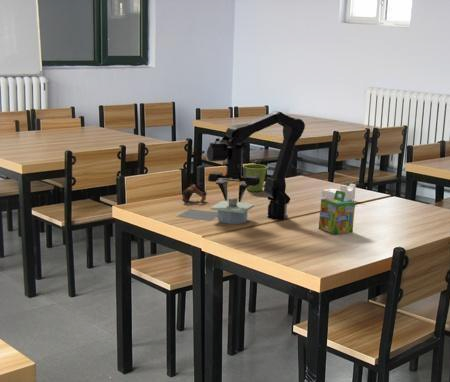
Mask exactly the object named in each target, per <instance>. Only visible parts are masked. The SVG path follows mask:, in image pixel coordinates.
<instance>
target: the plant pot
mask: <svg viewBox="0 0 450 382" xmlns="http://www.w3.org/2000/svg"><path fill="white" fill-rule="evenodd" d="M243 167H245V168H246V176H245V177H248V176H249V175H250V176H258V177H259V179H260V181H259V184H258V185H256V186H248V187H247V188H246V190H247V191H249V192H254V191H256V192H262V191H263V190H264V189H263V188H264V187H263V186H264V185H265V180H266V175H267V171H268V169H269V166H268V165H265V164H257V163H255V164H253V163H251V164H250V163H249V164H243ZM261 190H262V191H261Z"/></svg>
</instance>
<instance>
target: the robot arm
mask: <svg viewBox="0 0 450 382" xmlns="http://www.w3.org/2000/svg"><path fill="white" fill-rule="evenodd" d="M276 124H278V125H280V126H282V135H283V139H282V144H281V147H280V150H279V153H278V156H277V159H276V160H277V161H276V163H275V167H274V171H273V173H272V175H271V176H270V177H269V176H267V177H265V180H264V184H263V188H264V189H263V192H264V194H265V195H266V198H267V200H268V201H269V204H268V206H267V218H268V219H269V218H270V219H278V220H285V219H286V218H287V217H288V214H287V210H288V209H287V208H288V205H289V203H290V202H291V197H290V196H289V195H288V194H287V193H286V188H287V185H286V184H287V182H286V176H287V172H288V169H289V166H290V162H291V160H292V156H293V153H294V151H295V150H294V149H295V145H296V143H297V142H298V140H299V139H300V138H301V137H302V135H303V133H304V131H305V128H306V123H305V122H304V121H303V119H301V118H295V117H292V116H290V115H286V114H285V113H283V112H282V111H276V110H274V111H272V112H270V113H268V114H266V115H264V116H261V117H258V118H256V119H254V120H252V121H249V122H247V123H242V124H241V123H239V124H236V125H232V126H229V127H227V129H226V130H225V134H224V135H223V137H222V138H221V140H220V141H219V142H209V146H208V148H207V150H206V157H207V160H208V162H224V161H226V163H225V167H226V174H223V172H219V171H213V172H211V173H209V174H208V176H207V181H208V182H212V183H213V182H214V183H215V185H218V187H219V189H220V190H221V193H222V196H223V198H224V201H227V200H228V183H229V182H236V183H237V182H239V183H241V184H239V186H238V203H242V200H243V196H244V194H245V191H246V190H247V187H248V186H256V185H258V184H259V181H260V179H259V177H258V176H250V175H249V176H248V177H245V176H246V168H245V167H243V165H244V163H243V149H244V150H245V149H246V150H247V149H249V146H248V145H247V144H245V141H246V140H248V139H249V138H250V137H251V136H252V135H253V134H255V133H258V132H260V131H263V130H264V129H267V128H269V127H272V126H273V125H276Z"/></svg>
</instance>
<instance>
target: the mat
mask: <svg viewBox="0 0 450 382" xmlns="http://www.w3.org/2000/svg"><path fill="white" fill-rule="evenodd" d="M175 217H177V218H185V219H192V220H193V219H194V220H201V221H207V222H209V221H212V220H214V219H216V218H217V211H209V210H208V211H207V210H201V209H192V208H190V209H188V210H186V211H183V212H182V213H179V214H178V215H176V216H175Z"/></svg>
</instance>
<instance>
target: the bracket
mask: <svg viewBox="0 0 450 382" xmlns="http://www.w3.org/2000/svg"><path fill="white" fill-rule="evenodd" d="M339 187H340V189H336V188H326V189H322V190H321V198H323V197H326V198H325V199H327V198H334V196H335V193H336V191H337V190H338V191H342V192H345V197H344V199H347V200H350V201H353V200H355V199H356V197H355V196H356V187H357V184H354V183H349V186H347V185H343V184H340V186H339ZM347 187H348V188H347ZM338 197H340V198H341V197H342V195H341V194H338Z"/></svg>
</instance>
